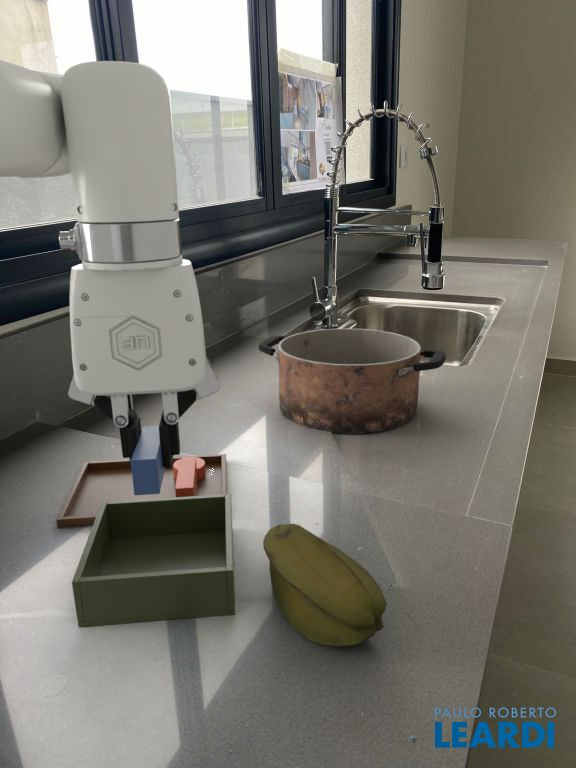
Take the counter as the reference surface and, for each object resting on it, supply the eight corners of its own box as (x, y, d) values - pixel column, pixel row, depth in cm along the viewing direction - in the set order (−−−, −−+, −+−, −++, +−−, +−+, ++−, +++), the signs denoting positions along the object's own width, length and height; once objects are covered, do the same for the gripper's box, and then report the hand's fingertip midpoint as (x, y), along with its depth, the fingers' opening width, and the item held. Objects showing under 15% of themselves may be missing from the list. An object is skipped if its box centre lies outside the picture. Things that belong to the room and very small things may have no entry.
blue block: (121, 496, 47) (117, 461, 46) (139, 444, 58) (136, 414, 57) (172, 493, 48) (169, 458, 47) (181, 441, 58) (179, 412, 57)
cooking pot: (234, 419, 95) (231, 353, 91) (289, 378, 114) (289, 322, 111) (426, 449, 83) (431, 375, 80) (451, 397, 103) (456, 336, 99)
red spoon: (168, 513, 67) (165, 489, 66) (175, 468, 78) (173, 447, 77) (204, 510, 68) (202, 487, 67) (206, 467, 78) (204, 445, 77)
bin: (78, 627, 51) (71, 582, 49) (106, 539, 63) (101, 501, 62) (235, 614, 52) (233, 570, 51) (232, 531, 65) (230, 493, 63)
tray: (57, 531, 65) (55, 519, 64) (85, 471, 78) (84, 461, 78) (227, 520, 67) (227, 508, 66) (226, 463, 80) (225, 453, 80)
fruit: (237, 650, 48) (233, 580, 46) (274, 562, 59) (272, 502, 57) (381, 673, 46) (384, 600, 44) (392, 577, 57) (395, 515, 55)
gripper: (7, 254, 42) (46, 490, 48) (236, 247, 43) (247, 477, 49) (38, 243, 49) (68, 450, 55) (234, 238, 51) (243, 440, 56)
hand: (153, 461), depth 52 cm, fingers closed on blue block, 2 cm apart
